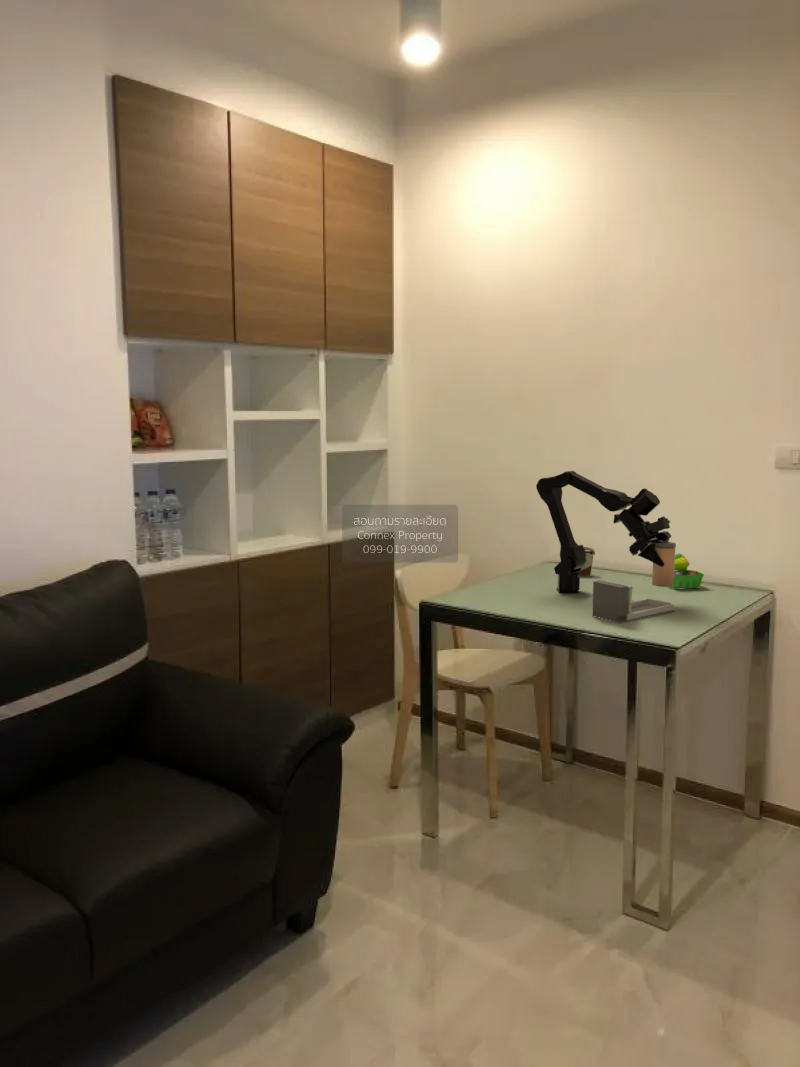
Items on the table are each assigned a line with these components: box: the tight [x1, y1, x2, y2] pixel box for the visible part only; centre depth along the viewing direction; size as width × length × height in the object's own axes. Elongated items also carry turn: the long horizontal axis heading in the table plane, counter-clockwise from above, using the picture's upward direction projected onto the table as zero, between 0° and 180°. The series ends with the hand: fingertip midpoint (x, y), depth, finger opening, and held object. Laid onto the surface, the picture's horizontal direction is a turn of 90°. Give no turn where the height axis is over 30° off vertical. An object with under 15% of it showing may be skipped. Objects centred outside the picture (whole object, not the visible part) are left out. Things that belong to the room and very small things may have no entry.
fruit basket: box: [670, 552, 705, 590], centre depth 295 cm, size 11×9×11 cm
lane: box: [591, 579, 675, 624], centre depth 259 cm, size 24×10×10 cm, turn 125°
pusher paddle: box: [611, 582, 634, 614], centre depth 256 cm, size 1×8×9 cm, turn 35°
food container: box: [577, 546, 596, 577], centre depth 318 cm, size 12×6×10 cm, turn 84°
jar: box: [651, 541, 677, 588], centre depth 267 cm, size 7×7×13 cm
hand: (667, 564), depth 266 cm, fingers closed on jar, 6 cm apart
